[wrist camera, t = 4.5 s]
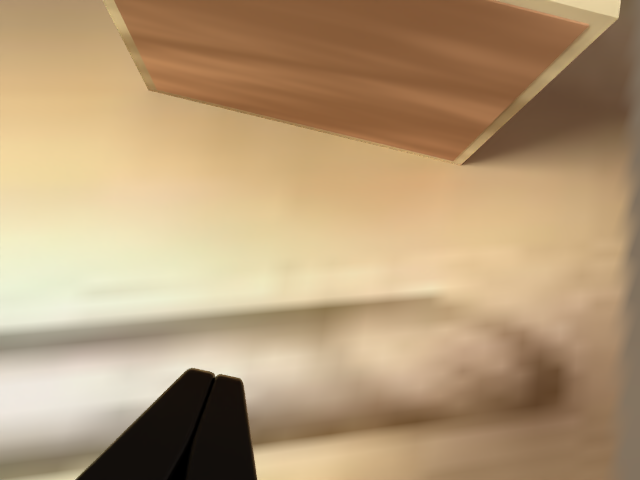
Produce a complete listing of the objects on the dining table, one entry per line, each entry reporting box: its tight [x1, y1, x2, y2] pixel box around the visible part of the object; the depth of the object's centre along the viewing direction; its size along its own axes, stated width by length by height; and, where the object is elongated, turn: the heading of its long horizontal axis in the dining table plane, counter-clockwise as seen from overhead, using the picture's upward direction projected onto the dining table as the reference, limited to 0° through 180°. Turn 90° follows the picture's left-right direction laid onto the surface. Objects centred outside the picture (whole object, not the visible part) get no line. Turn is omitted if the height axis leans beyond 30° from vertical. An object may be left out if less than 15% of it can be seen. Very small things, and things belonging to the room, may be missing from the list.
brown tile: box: [103, 0, 621, 165], centre depth 16 cm, size 3×12×10 cm, turn 78°
